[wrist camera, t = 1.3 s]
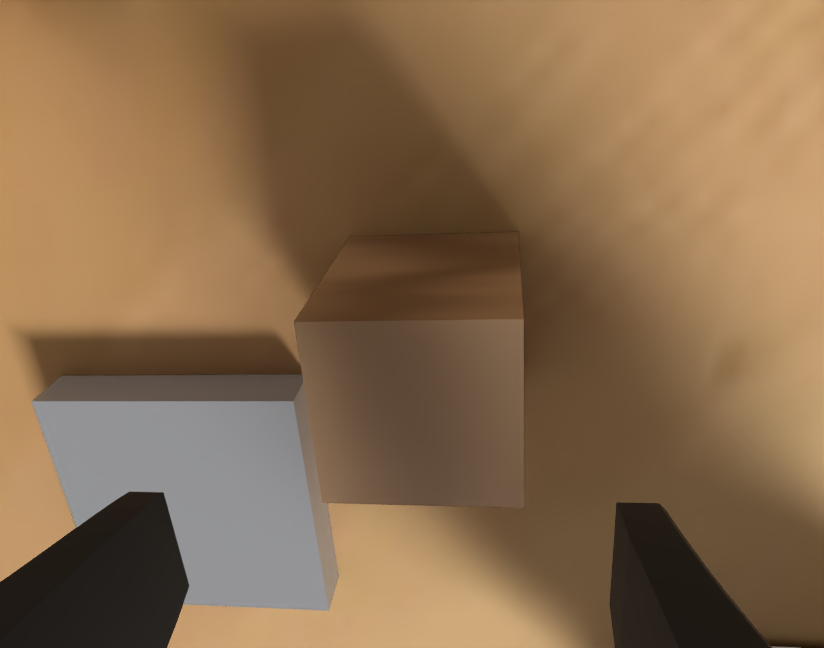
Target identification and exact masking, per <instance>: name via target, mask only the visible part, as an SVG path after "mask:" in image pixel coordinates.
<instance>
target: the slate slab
mask: <svg viewBox="0 0 824 648" xmlns="http://www.w3.org/2000/svg"><path fill="white" fill-rule="evenodd" d="M32 404H33V407H34V410H35V413H36V415H37V418H38V421H39V424H40V427H41V429H42V432H43V435H44V438H45V441H46V443H47V446H48V449H49V452H50V455H51V457H52V460H53V463H54V466H55V469H56V471H57V474H58V477H59V480H60V483H61V486H62V488H63V491H64V494H65V497H66V500H67V502H68V505H69V508H70V511H71V514H72V516H73V519H74V522H75V525H76V528H77V527H78V526H80V525H81V524H82V523H84V522H85V521H86V520H88V519H89V518H91V517H92V516H94V515H95V514H96V513H98V512H99V511H101V510H102V509H103V508H105V507H106V506H108V505H109V504H111V503H112V502H114V501H115V500H117V499H118V498H120V497H121V496H123V495H125V494H126V493H128V492H164V496H165V499H166V503H167V506H168V510H169V514H170V517H171V521H172V525H173V528H174V532H175V535H176V539H177V543H178V546H179V550H180V554H181V557H182V561H183V564H184V568H185V572H186V575H187V579H188V583H189V589H188V591H187V594H186V597H185V600H184V603H183V604H188V605H211V606H234V607H257V608H280V609H303V610H326V611H329V609H330V605H331V602H332V598H333V595H334V591H335V588H336V584H337V581H338V577H339V574H338V567H337V561H336V554H335V548H334V542H333V535H332V529H331V522H330V516H329V510H328V503H322V498H321V492H320V486H319V479H318V473H317V466H316V460H315V454H314V447H313V441H312V435H311V428H310V422H309V415H308V409H307V403H306V396H305V390H304V384H303V377H302V374H299V375H92V376H60V377H59V378H58V379H57V380H56V381H55V382H53V383H52V384H51V385H50V386H49V387H48V388H47V389H45V390H44V391H43V392H42V393H41V394H40V395H38V396H37V397H36V398H35V399H34V400H33V401H32Z"/></svg>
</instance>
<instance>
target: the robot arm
mask: <svg viewBox="0 0 824 648" xmlns="http://www.w3.org/2000/svg"><path fill="white" fill-rule="evenodd" d="M188 589H189V583H188V579H187V575H186V572H185V568H184V564H183V561H182V557H181V554H180V550H179V546H178V543H177V539H176V535H175V532H174V528H173V525H172V521H171V517H170V514H169V510H168V506H167V503H166V499H165V496H164V492H128V493H126V494H125V495H123V496H121V497H120V498H118V499H117V500H115V501H114V502H112V503H111V504H109V505H108V506H106V507H105V508H103V509H102V510H101V511H99V512H98V513H96V514H95V515H94V516H92V517H91V518H89V519H88V520H86V521H85V522H84V523H82V524H81V525H80V526H78V527H77V528H75V529H74V530H73V531H71V532H70V533H68V534H67V535H66V536H64V537H63V538H62V539H60V540H59V541H57V542H56V543H55V544H53V545H52V546H50V547H49V548H48V549H46V550H45V551H43V552H42V553H41V554H39V555H38V556H37V557H35V558H34V559H32V560H31V561H30V562H28V563H27V564H25V565H24V566H23V567H21V568H20V569H18V570H17V571H16V572H14V573H13V574H11V575H10V576H9V577H7V578H6V579H4V580H3V581H1V582H0V648H167V646H168V643H169V641H170V638H171V636H172V633H173V630H174V628H175V625H176V623H177V620H178V617H179V614H180V612H181V609H182V606H183V603H184V600H185V597H186V594H187V591H188ZM610 610H611V618H612V627H613V635H614V643H615V648H799V647H779V646H771V645H770V644H769V643H768V642H767V641H766V640H765V639H764V637H763V636H762V635H761V634H760V633H759V632H758V630H757V629H756V628H755V627H754V626H753V624H752V623H751V622H750V621H749V620H748V618H747V617H746V616H745V615H744V614H743V612H742V611H741V610H740V609H739V607H738V606H737V605H736V604H735V603H734V601H733V600H732V599H731V598H730V596H729V595H728V594H727V593H726V592H725V590H724V589H723V588H722V586H721V585H720V584H719V583H718V581H717V580H716V579H715V578H714V576H713V575H712V574H711V572H710V571H709V570H708V568H707V567H706V566H705V564H704V563H703V562H702V560H701V559H700V558H699V556H698V555H697V554H696V552H695V551H694V550H693V548H692V547H691V545H690V544H689V543H688V541H687V540H686V538H685V537H684V536H683V534H682V533H681V531H680V530H679V529H678V527H677V526H676V524H675V523H674V521H673V520H672V518H671V517H670V515H669V514H668V512H667V511H666V510H665V509H664V508H663V507H662V506H661V505H660V504H656V503H617V504H616V519H615V534H614V548H613V563H612V578H611V593H610Z"/></svg>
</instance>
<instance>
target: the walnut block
mask: <svg viewBox="0 0 824 648" xmlns="http://www.w3.org/2000/svg"><path fill="white" fill-rule="evenodd" d="M294 326H295V333H296V339H297V345H298V352H299V358H300V364H301V371H302V377H303V384H304V390H305V396H306V403H307V409H308V415H309V422H310V428H311V435H312V441H313V447H314V454H315V460H316V466H317V473H318V479H319V486H320V492H321V498H322V503H347V504H388V505H428V506H468V507H509V508H524V316H523V298H522V281H521V264H520V246H519V231H517V232H485V233H452V234H420V235H387V236H355V237H349V238H348V240H347V242H346V243H345V245H344V246H343V248H342V249H341V251H340V252H339V254H338V255H337V257H336V258H335V260H334V261H333V263H332V264H331V266H330V268H329V269H328V271H327V272H326V274H325V275H324V277H323V278H322V280H321V281H320V283H319V284H318V286H317V287H316V289H315V290H314V292H313V294H312V295H311V297H310V298H309V300H308V301H307V303H306V304H305V306H304V307H303V309H302V310H301V312H300V313H299V315H298V316H297V318H296V320H295V321H294Z"/></svg>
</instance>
